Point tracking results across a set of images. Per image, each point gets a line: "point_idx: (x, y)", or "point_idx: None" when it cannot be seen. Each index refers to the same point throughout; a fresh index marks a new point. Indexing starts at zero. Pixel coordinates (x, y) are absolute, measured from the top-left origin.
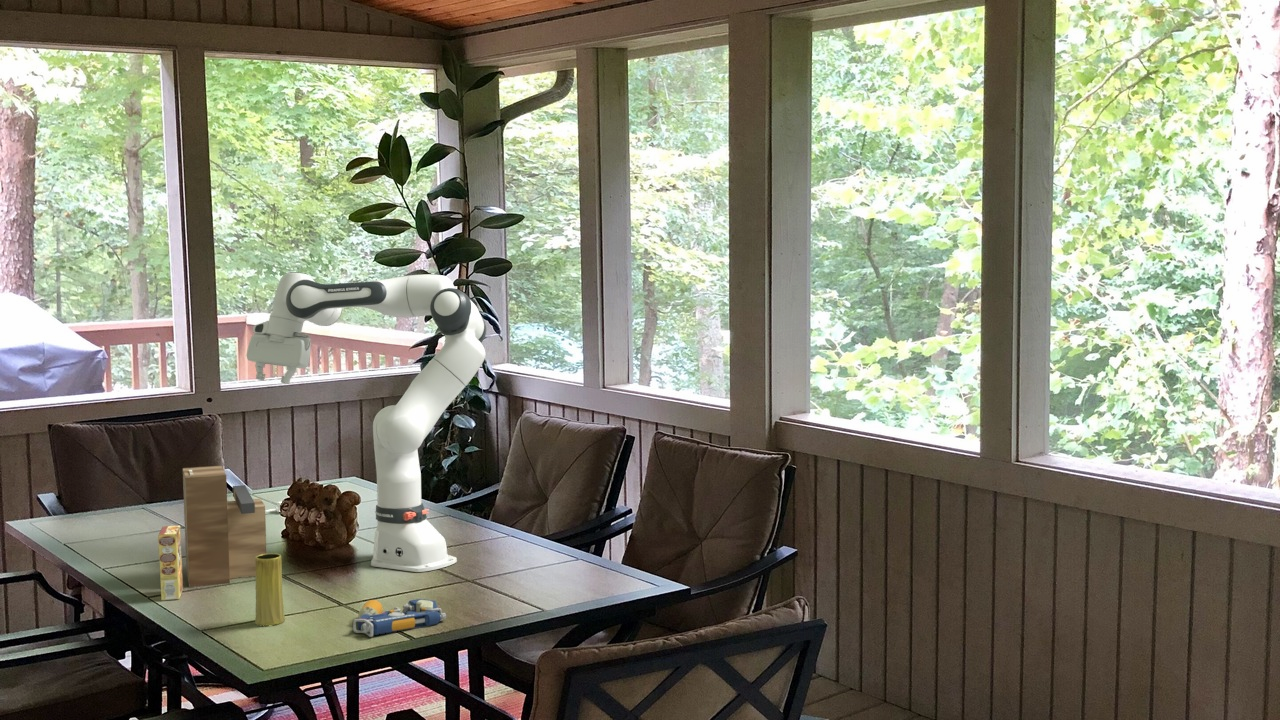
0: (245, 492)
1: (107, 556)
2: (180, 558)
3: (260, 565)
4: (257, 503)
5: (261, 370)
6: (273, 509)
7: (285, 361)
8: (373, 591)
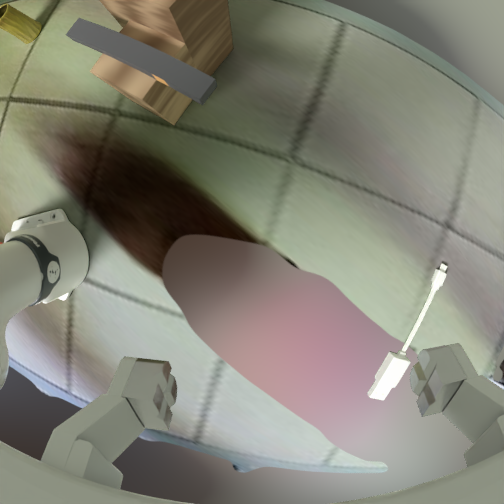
0: (137, 59)
1: (395, 64)
2: None
3: (5, 7)
4: (115, 73)
5: (466, 418)
6: (403, 347)
7: (56, 501)
8: (9, 143)
